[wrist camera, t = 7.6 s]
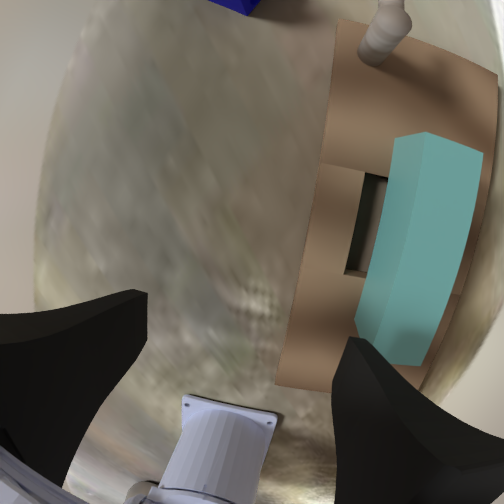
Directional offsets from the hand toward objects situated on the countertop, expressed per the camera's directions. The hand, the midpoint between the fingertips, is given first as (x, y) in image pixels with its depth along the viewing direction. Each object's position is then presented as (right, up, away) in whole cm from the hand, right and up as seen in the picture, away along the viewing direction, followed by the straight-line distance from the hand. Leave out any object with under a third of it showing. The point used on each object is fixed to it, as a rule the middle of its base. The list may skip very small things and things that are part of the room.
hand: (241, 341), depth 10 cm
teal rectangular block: (+9, +4, +6) cm, 11 cm away
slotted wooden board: (+9, +4, +7) cm, 12 cm away
